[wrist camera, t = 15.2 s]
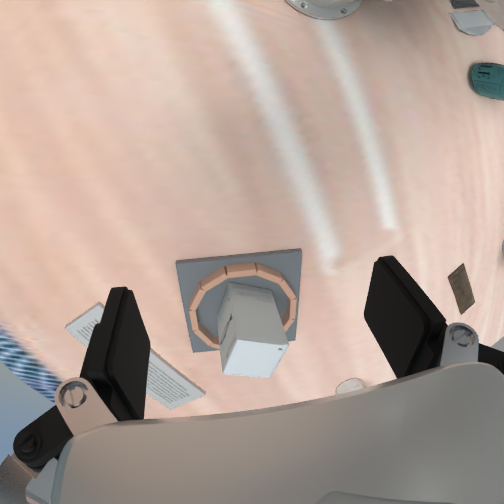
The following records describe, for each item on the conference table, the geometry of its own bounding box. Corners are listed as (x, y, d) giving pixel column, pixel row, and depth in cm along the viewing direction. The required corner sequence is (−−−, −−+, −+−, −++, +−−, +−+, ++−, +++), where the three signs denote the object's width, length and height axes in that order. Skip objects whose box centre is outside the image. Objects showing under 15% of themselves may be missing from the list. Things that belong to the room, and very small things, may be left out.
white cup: (329, 387, 70) (342, 420, 62) (358, 371, 69) (374, 404, 60) (338, 399, 74) (351, 430, 65) (366, 385, 73) (380, 415, 64)
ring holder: (300, 248, 50) (305, 258, 47) (293, 336, 59) (297, 347, 56) (176, 260, 47) (175, 271, 45) (192, 348, 57) (193, 360, 54)
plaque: (205, 395, 63) (170, 409, 64) (205, 389, 64) (170, 404, 66) (98, 304, 48) (64, 328, 49) (100, 299, 49) (67, 323, 51)
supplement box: (228, 280, 49) (237, 338, 38) (272, 289, 51) (291, 345, 40) (214, 316, 52) (221, 374, 41) (256, 323, 54) (270, 379, 44)
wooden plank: (475, 302, 65) (462, 316, 66) (473, 300, 66) (459, 313, 67) (463, 263, 58) (448, 279, 58) (460, 260, 59) (445, 276, 60)
